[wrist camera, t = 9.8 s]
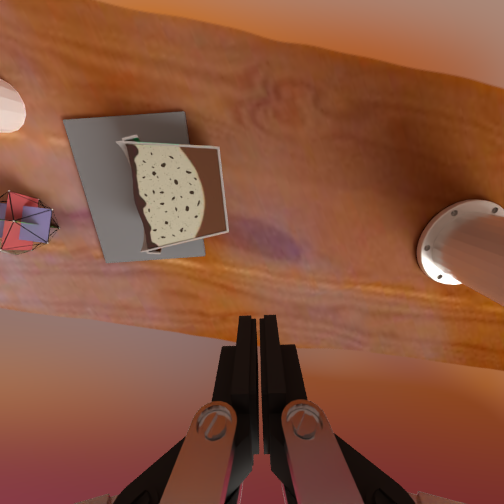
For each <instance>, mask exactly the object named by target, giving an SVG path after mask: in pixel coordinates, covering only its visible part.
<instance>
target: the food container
mask: <svg viewBox="0 0 504 504" xmlns="http://www.w3.org/2000/svg"><path fill="white" fill-rule="evenodd" d="M122 140H123V141H115V142H116V143H117V144H118V145H119V146H120V147H121V148H122V150H123V152H124V153H125V155H126V157H127V159H128V162H129V164H130V167H131V170H132V178H133V195H134V201H135V204H136V207H137V210H138V213H139V215H140V218H141V220H142V223H143V227H144V240H143V246H142V249H141V251H140V252H147V254H161V251H162V248H164V247H169V246H173V245H177V244H181V243H186V242H190V241H194V240H198V239H203V238H207V237H211V236H215V235H220V234H224V233H228V232H229V228H228V219H227V210H226V201H225V193H224V184H223V175H222V166H221V157H220V148H219V146H202V145H185V144H168V143H150V142H141V140H140V139H139V137H138V136H137V134H136V135H132V136H128V137H125V138H122Z"/></svg>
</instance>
